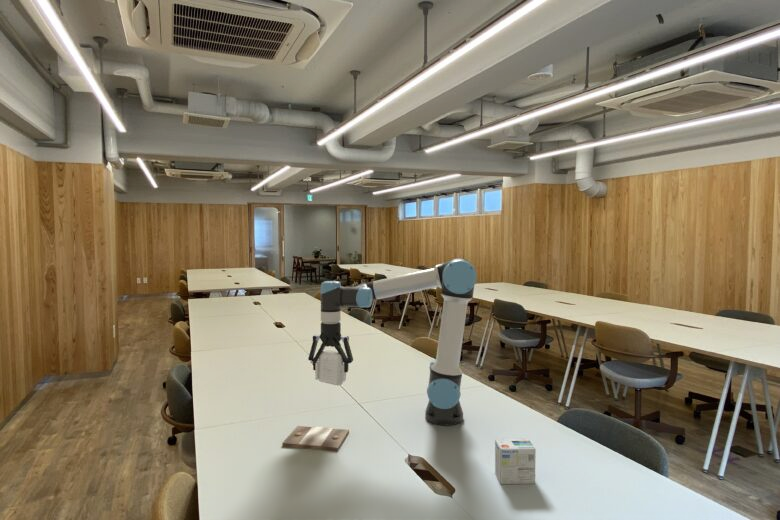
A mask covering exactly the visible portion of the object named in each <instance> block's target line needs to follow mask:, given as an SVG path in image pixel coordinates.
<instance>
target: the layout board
mask: <svg viewBox="0 0 780 520" xmlns="http://www.w3.org/2000/svg"><path fill="white" fill-rule="evenodd" d="M349 434H350V429H345V428H344V429H343V428H342V429H341V428H334V427H326V426H317V425H316V426H303V425H297V426H296V427H295V428H294V429H293V430H292V432H291V433H290V434H289V435H288V436H287V437H286V438H285V439H284V440H283V441H282V443H281V445H282V447H285V448H296V447H297V448H300V449H307V450H309V449H310V450H318V451H319V450H321V451H331V452H332V451H335V452H339V450H340V449H341V447H342V445H343V444H344V442H345V441H346V439H347V437H348V436H349ZM297 448H296V449H297Z"/></svg>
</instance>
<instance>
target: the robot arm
mask: <svg viewBox="0 0 780 520" xmlns="http://www.w3.org/2000/svg"><path fill="white" fill-rule="evenodd" d="M477 275H478V274H477V272H476V269H475V267H474V265H473V264H472V263H471V262H470V261H468V259H464V258H461V257H459V258H453V259H451V260H449V261H445V262H442V263H440V264H436V265H435V266H434V267H433V268H429V269H424V270H419V271H415V272H411V273H406V274H401V275H397V276H396V275H395V276H392V277H388V278H382V279H378V280H374V281H369V282H362V283H359V284H358V285H356V286H350V287H349V286H348V287H347V286H342V284H341V282H340V281H336V280H326V281H323V282H321V284H320V322H321V323H320V334H319V335H318V334H314V335H313V336H312V343H311V347H310V351H309V355H308V359H307V360H308V361H311V362H312V370H313V371H315V380H316V381H317V380H318V381H319V356H320V354H321V352H322V351H325V348H326V347H328V348H329V347H331V348H335V350H336V352H338V353H339V354H340V355H341V357H342V361H343V364H342V382H343V383H344V382H345V381H346V380H347V373H348V372H349V364H351V363H353V362H354V357H353V354H352V349H351V346H350V342H349V341H350V337H349V336H348V335H347V336H345V335H344V336H343V335H342V333H341V332H342V331H341V329H342V328H341V322H340V321H341V309H342V308H361V309H363V308H370V307H371V306H372V305H373V304H372V303H373V301H377V300H380V299H381V300H382V299H387V298H391V297H396V296H399V295H400V296H401V295H404V294H410V293H415V292H420V291H424V290H430V289H434V288H440V296H441V297H442V298H443V305H442V312H441V319H440V325H439V326H440V327H439V334H438V341H437V350H436V358H435V359H434V360H432V361H430V364H429V377H428V386H427V388H426V394H427V397H428V403H427V406H426V409H425V411H424V412H425V416H424V417H425V420H426V421H428V422H429V423H432V424H434V425H439V426H454V425H458V424H461V422H463V421H464V411H463V408H462V404H461V401H460V398H461V385H462V384H461V383H462V376H463V370H462V369H461V367H460V361H461V352H462V347H463V346H462V345H463V339H464V331H465V325H466V318H467V317H466V316H467V310H468V309H467V308H468V304H469V302H470V301H472V299H473V298H474V291H475V285H476V283H477ZM319 340H321V342H322V343H321V344H320V347H319V349H318V350H316V349H317V346H318V343H319ZM341 340H342V341H341ZM340 342H342V343H343V347H344V349H343V347H342V344H341V343H340ZM344 350H345V351H344ZM316 351H317V352H316Z"/></svg>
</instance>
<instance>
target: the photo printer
mask: <svg viewBox="0 0 780 520" xmlns="http://www.w3.org/2000/svg"><path fill="white" fill-rule="evenodd" d="M318 361H319V379H318V382H320V383H325V384H329V385H333V386H338V387H340V386H341V385H342V384H343V383H344V382H342V364H343V363H344V362H343V361H342V357H341V355H340V354H339V353H338V351H334V350H330V349H329V350H328V349H327V350H323V351H322V352H321V354H320V356H319V359H318Z"/></svg>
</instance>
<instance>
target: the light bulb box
mask: <svg viewBox="0 0 780 520" xmlns="http://www.w3.org/2000/svg"><path fill="white" fill-rule="evenodd" d="M536 450H537V449H536V447H535V446H534V444H533V443H532V442H531V440H530V439H529V438H518V439H517V438H516V439H510V438H509V439H494V453H495V454H494V472H495V473H494V474H495V476H496V478H497V480H498V482H499V484H500V485H517V484H519V485H523V484H525V485H528V484H529V485H530V484H534V485H535V484H536V456H537V455H536Z"/></svg>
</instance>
